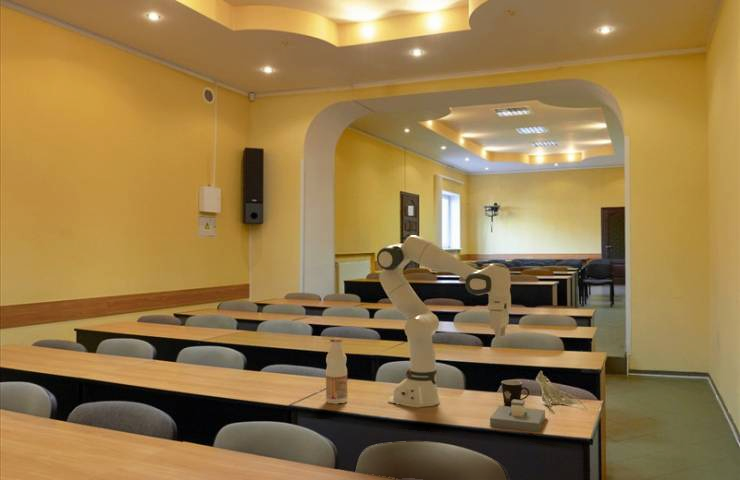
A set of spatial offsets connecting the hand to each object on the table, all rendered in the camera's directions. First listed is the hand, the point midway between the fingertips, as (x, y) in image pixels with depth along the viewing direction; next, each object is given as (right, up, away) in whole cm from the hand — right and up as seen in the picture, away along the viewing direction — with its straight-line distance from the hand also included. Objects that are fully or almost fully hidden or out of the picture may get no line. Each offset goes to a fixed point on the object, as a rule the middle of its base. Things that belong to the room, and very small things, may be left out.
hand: (500, 337), depth 233 cm
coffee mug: (+8, -31, +10) cm, 34 cm away
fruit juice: (-68, -32, +21) cm, 78 cm away
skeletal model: (+26, -31, +13) cm, 42 cm away
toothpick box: (+5, -31, -11) cm, 33 cm away
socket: (+4, -31, -11) cm, 33 cm away
